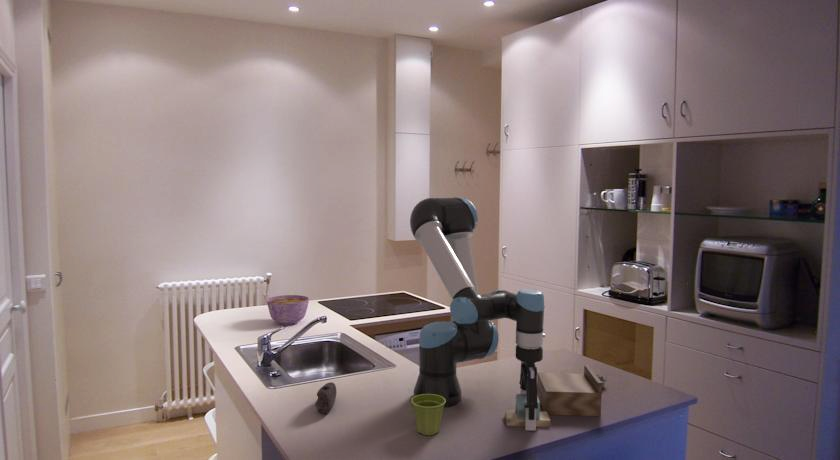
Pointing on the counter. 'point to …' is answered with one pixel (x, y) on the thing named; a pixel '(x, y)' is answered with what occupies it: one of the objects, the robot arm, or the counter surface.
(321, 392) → the perforated stone tool
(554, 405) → the dock
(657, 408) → the counter surface
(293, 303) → the bowl of food
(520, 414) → the blue cube on tile
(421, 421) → the plant pot
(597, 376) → the miniature stone ruin
